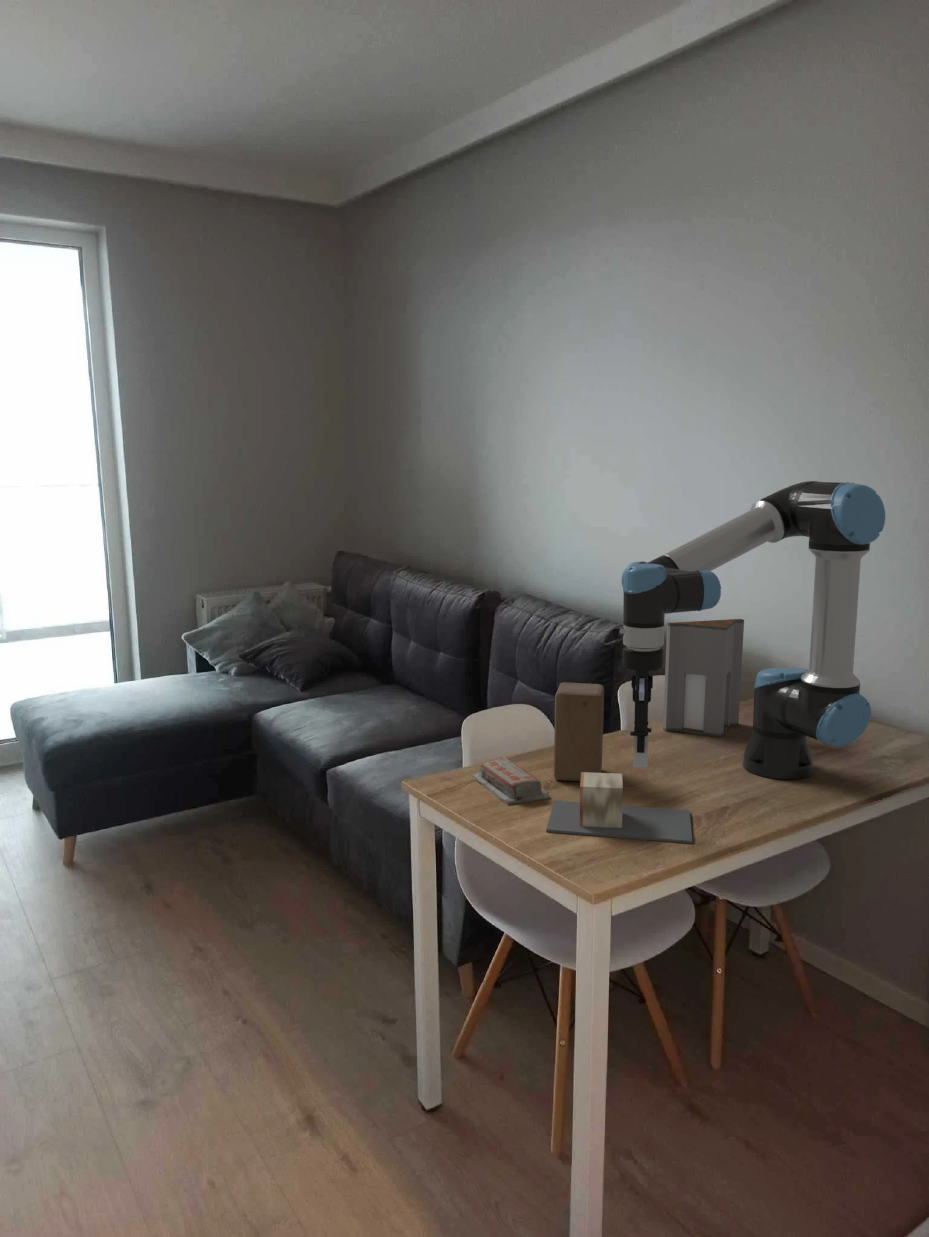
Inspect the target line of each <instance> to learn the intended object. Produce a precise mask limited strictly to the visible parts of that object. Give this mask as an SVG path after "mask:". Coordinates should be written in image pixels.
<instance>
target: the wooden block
mask: <svg viewBox="0 0 929 1237" xmlns="http://www.w3.org/2000/svg"><path fill="white" fill-rule="evenodd" d="M604 700H605V688H604V685H602V684H599V683H584V682H583V683H581V682H579V683H578V682H565V681H564V682H560V683H559V685H558V687H557V691H556V693H555V696H554V740H553V742H554V744H553V753H554V754H553V777H554V779H555V780H557V781H568V782H569V781H571V782H580V781H581V772H590V773H602V769H603V768H602V767H603V743H604V742H603V740H604V738H603V737H604V708H605V706H604V705H605V704H604V703H605V702H604Z"/></svg>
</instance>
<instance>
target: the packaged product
mask: <svg viewBox="0 0 929 1237" xmlns="http://www.w3.org/2000/svg"><path fill="white" fill-rule="evenodd" d="M479 769H480V772H479V771H478V772H476V773H471V778H473V780H475V781H477V782H479V784H480V785H482V786H483V787H484V788H485V789H487V790H488V791H489V792H490V793H491V794H492V795H494V796H495V797H497V798H498V799H500V800H501V801H502V802H503V803H504V804H507V806H508V805H515V804H521V803H527V802H532V801H538V800H544V799H549V791H547V790H546V789H544V788H543V787H542V784H541V781H540V780H541V779H538V778H537V777H536V776H534V775H533V774H531V773H529V772H528V771H527V770H526V769H524V768H522V767H521V766H519V765H518V764H517V763H514V762H513V761H512V760H510V759H509V758H507V757H503V756H497V757H495V758H493V759H490V760H488V761H485V762H483V763H481V765H480V768H479Z"/></svg>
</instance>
